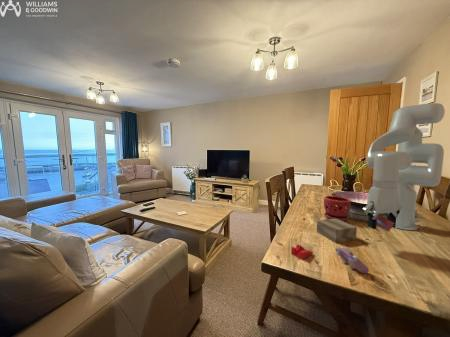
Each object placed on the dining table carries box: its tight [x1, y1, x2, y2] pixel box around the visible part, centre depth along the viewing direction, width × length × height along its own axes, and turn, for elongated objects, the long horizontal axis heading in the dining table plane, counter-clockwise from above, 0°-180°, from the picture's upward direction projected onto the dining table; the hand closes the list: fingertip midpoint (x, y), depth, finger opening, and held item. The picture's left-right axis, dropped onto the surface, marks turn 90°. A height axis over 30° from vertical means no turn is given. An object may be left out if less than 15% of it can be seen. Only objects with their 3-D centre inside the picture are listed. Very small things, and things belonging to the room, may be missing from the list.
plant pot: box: [323, 195, 352, 222], centre depth 108 cm, size 13×13×12 cm
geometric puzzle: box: [372, 213, 395, 233], centre depth 76 cm, size 7×7×8 cm
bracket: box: [290, 244, 314, 261], centre depth 71 cm, size 6×5×3 cm
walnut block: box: [316, 218, 358, 244], centre depth 87 cm, size 11×11×6 cm
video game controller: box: [335, 245, 370, 274], centre depth 64 cm, size 10×5×7 cm, turn 5°
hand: (381, 226), depth 76 cm, fingers closed on geometric puzzle, 8 cm apart
